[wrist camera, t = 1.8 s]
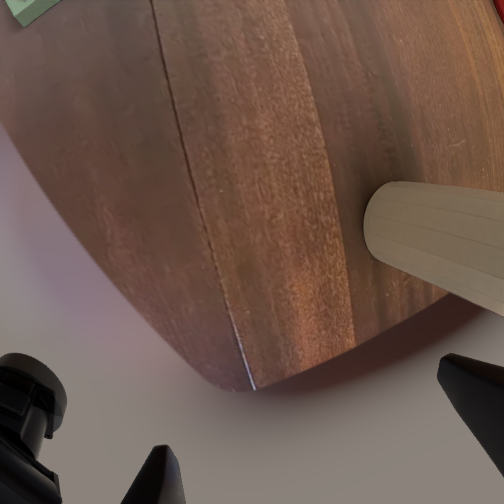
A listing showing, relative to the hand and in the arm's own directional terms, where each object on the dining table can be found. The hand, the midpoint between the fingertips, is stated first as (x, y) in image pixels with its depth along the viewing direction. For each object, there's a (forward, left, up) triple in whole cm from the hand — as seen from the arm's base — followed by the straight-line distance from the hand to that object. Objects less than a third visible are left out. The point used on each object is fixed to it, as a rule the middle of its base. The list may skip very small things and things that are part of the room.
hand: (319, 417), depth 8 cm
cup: (+8, -10, -12) cm, 18 cm away
